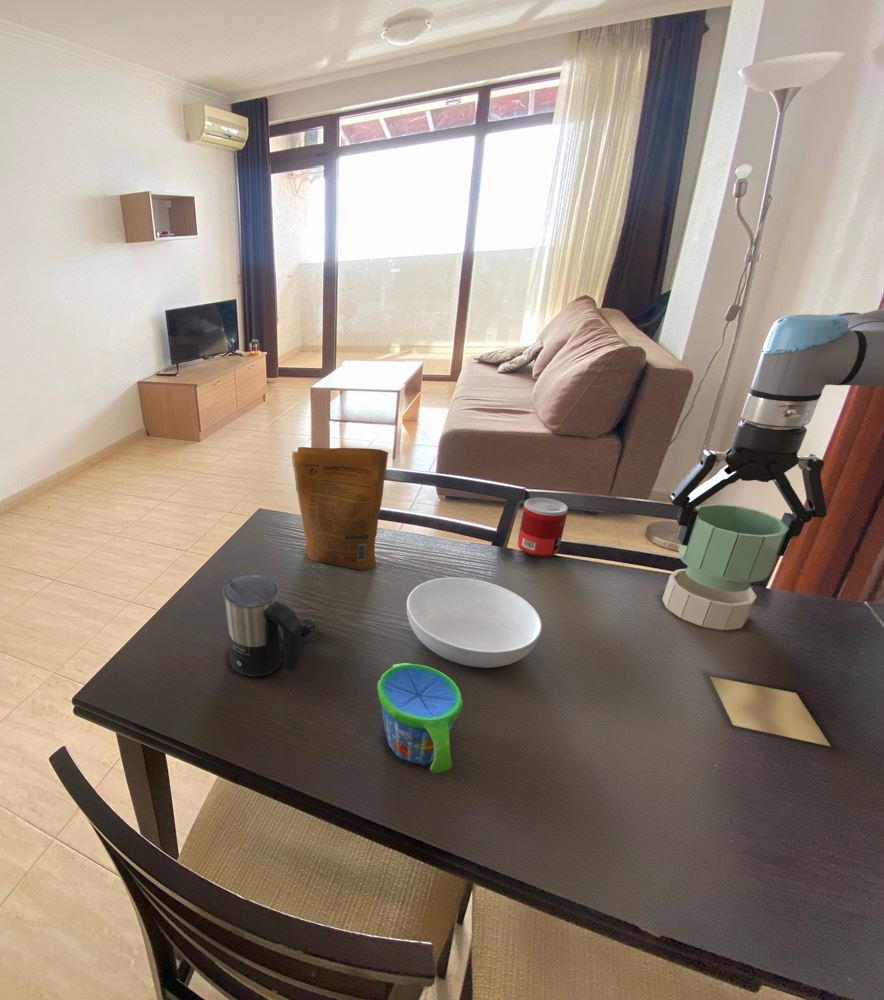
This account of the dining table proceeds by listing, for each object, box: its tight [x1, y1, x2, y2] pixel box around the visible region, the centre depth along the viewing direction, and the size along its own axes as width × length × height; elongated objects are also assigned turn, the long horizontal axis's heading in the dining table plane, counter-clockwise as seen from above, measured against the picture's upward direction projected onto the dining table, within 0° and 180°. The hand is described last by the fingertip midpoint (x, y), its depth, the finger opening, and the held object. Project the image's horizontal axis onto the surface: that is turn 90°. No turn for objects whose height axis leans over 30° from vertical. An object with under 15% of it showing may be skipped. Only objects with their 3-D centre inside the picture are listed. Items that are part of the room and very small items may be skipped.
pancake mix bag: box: [291, 446, 389, 571], centre depth 114 cm, size 7×19×28 cm, turn 62°
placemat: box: [709, 676, 831, 747], centre depth 77 cm, size 10×10×1 cm
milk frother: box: [222, 574, 321, 678], centre depth 93 cm, size 14×16×15 cm
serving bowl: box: [406, 577, 543, 669], centre depth 93 cm, size 21×21×7 cm
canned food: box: [517, 497, 569, 558], centre depth 116 cm, size 8×8×11 cm
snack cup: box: [376, 662, 464, 774], centre depth 74 cm, size 16×10×10 cm
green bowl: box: [678, 503, 789, 592], centre depth 91 cm, size 12×12×12 cm
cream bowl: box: [662, 568, 758, 631], centre depth 95 cm, size 11×11×6 cm
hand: (728, 546), depth 91 cm, fingers closed on green bowl, 12 cm apart
